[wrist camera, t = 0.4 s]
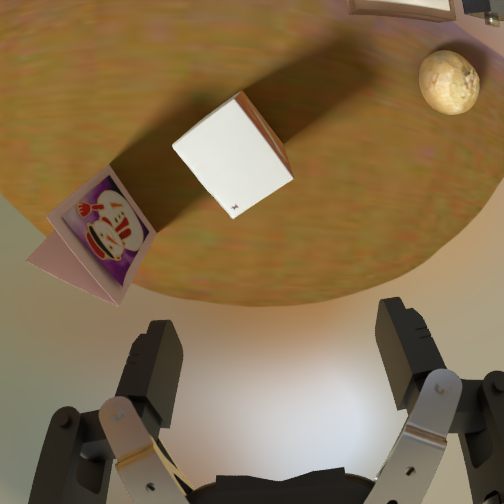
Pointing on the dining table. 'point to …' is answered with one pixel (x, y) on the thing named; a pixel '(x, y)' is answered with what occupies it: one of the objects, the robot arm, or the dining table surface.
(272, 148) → the small box
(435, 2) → the stand
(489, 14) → the block
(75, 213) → the greeting card
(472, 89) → the onion
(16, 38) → the dining table surface
